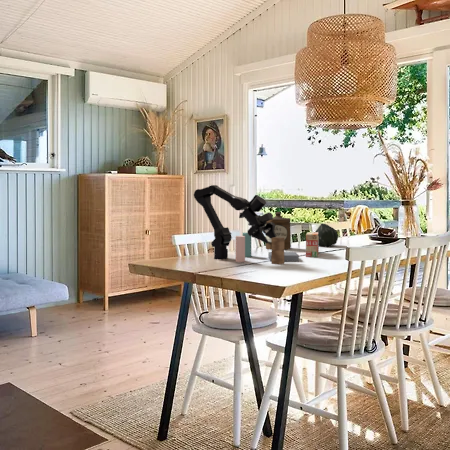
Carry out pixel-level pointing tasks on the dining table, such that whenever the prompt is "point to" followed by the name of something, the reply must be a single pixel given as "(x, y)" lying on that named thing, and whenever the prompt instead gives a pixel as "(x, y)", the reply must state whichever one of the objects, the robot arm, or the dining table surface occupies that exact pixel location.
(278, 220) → the wooden container
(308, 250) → the stack of blocks
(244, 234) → the muted teal block
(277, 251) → the walnut block
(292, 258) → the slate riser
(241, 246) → the dusty pink block
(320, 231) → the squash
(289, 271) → the dining table surface
